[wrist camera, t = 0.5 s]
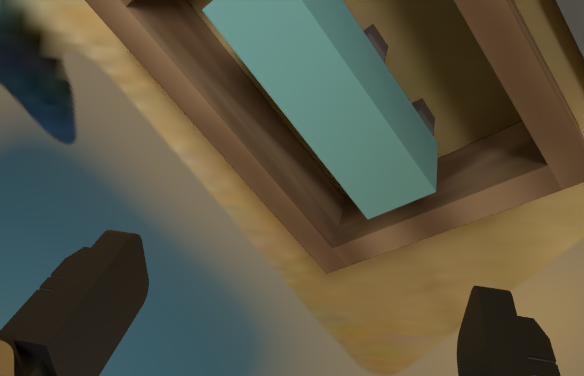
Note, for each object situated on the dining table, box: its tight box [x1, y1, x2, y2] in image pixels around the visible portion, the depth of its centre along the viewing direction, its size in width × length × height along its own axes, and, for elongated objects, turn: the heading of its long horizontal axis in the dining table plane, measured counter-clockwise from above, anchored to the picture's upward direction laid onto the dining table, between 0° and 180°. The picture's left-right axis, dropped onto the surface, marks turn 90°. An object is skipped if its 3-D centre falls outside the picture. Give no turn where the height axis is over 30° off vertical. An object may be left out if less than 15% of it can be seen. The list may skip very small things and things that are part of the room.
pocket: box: [85, 0, 584, 274], centre depth 28 cm, size 18×23×5 cm
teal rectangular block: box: [202, 0, 438, 219], centre depth 26 cm, size 4×14×5 cm, turn 38°
